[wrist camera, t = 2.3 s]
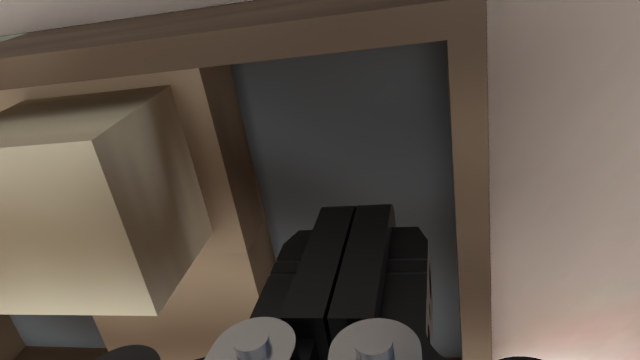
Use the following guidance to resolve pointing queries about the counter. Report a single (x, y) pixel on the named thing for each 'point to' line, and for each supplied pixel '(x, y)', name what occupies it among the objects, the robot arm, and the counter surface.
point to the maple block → (96, 204)
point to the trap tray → (288, 149)
